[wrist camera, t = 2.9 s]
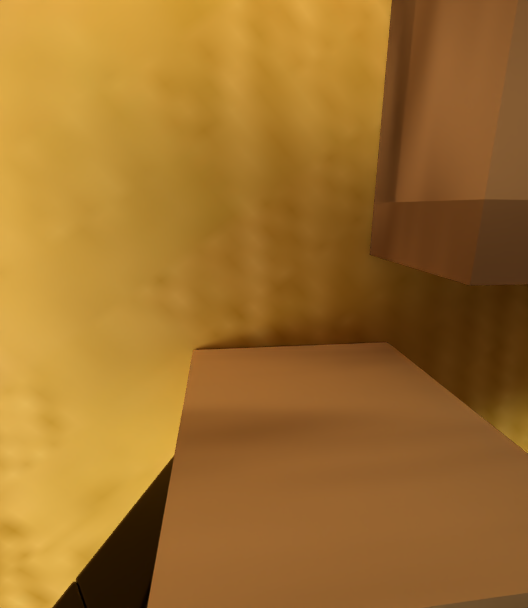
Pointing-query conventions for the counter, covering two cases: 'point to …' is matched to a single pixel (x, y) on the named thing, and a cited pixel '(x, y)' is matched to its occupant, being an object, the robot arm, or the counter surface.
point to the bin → (455, 141)
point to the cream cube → (337, 488)
